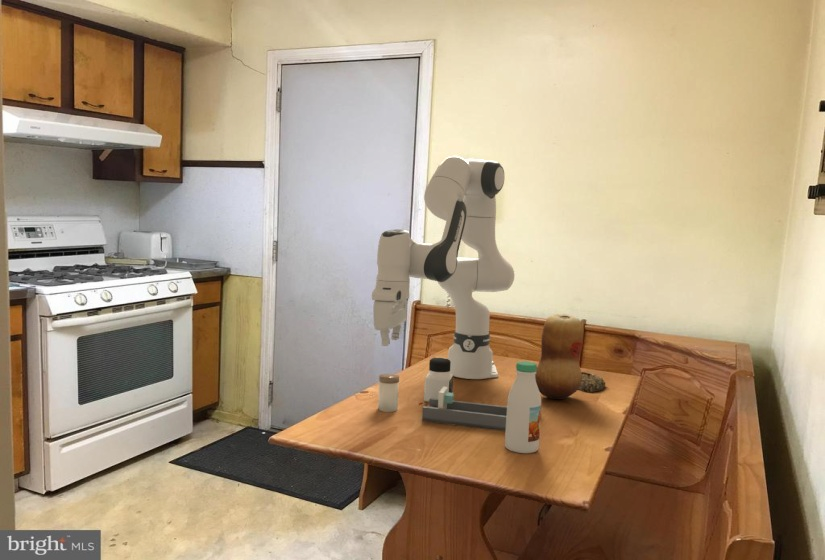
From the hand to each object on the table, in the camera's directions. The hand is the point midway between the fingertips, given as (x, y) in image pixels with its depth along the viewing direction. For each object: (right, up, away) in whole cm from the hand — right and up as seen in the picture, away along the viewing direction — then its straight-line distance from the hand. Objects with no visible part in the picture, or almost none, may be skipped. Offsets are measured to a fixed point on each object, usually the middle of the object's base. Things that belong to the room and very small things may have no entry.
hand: (390, 342), depth 171 cm
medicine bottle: (+13, -18, +13) cm, 26 cm away
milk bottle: (+31, -22, -23) cm, 45 cm away
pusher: (+15, -18, -4) cm, 24 cm away
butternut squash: (+49, -19, +20) cm, 56 cm away
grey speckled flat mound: (+61, -18, +35) cm, 73 cm away
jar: (-1, -18, +2) cm, 18 cm away
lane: (+21, -20, -5) cm, 29 cm away
